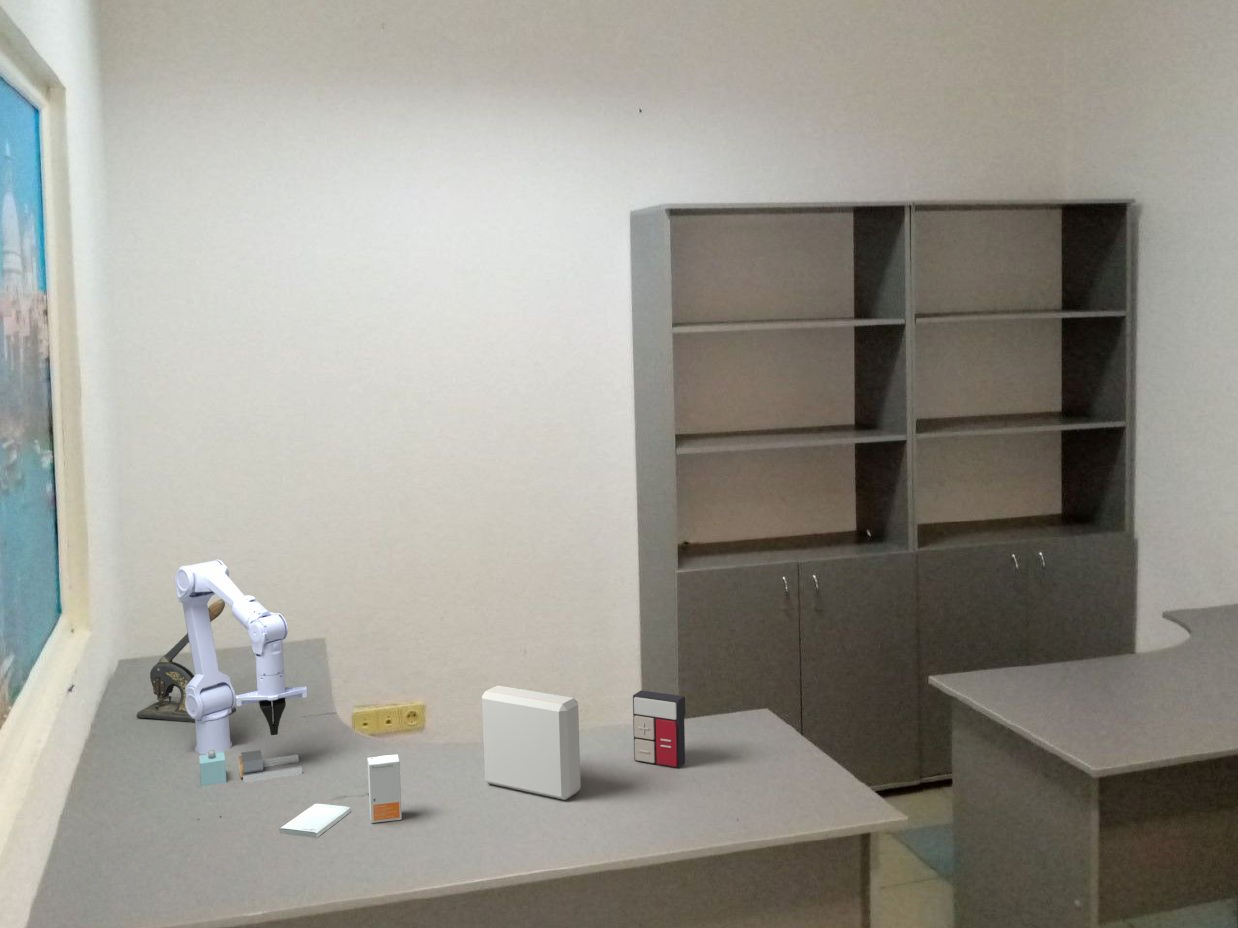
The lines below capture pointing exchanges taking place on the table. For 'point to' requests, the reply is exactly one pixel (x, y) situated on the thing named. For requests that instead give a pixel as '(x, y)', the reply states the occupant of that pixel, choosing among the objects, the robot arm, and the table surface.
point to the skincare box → (384, 788)
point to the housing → (212, 768)
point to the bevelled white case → (531, 741)
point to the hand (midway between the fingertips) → (274, 733)
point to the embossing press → (174, 680)
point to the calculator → (659, 728)
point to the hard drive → (315, 820)
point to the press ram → (250, 762)
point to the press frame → (275, 773)
